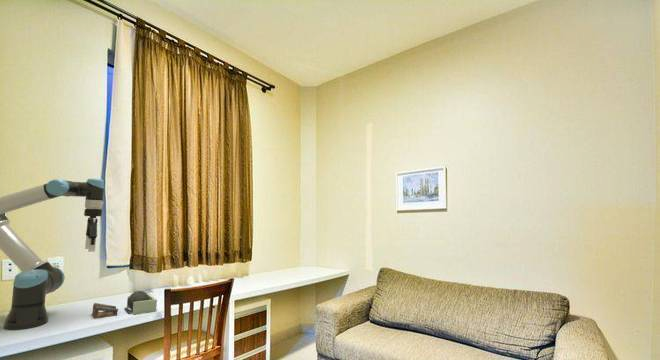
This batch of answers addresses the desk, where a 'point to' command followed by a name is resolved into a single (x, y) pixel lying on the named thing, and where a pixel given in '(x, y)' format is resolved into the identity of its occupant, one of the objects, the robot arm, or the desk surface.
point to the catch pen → (144, 305)
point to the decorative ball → (137, 298)
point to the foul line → (127, 310)
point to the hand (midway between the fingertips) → (89, 250)
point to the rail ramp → (104, 310)
